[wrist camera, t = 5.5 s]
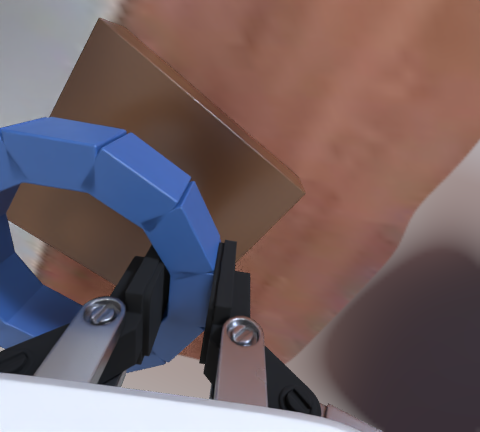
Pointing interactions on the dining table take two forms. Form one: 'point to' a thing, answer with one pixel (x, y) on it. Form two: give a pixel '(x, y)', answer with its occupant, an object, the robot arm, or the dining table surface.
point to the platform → (163, 141)
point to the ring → (123, 202)
